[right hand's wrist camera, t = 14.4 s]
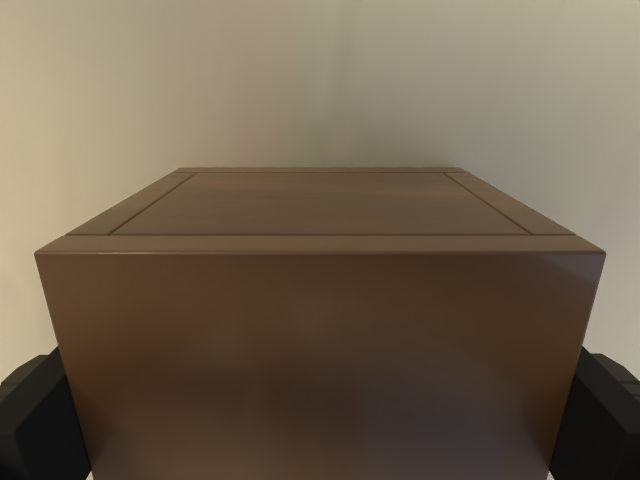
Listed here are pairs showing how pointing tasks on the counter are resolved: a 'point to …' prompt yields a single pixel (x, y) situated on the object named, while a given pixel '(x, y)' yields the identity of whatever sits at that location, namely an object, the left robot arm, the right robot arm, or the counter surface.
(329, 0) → the counter surface
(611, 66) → the counter surface
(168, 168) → the counter surface
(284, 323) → the cabinet
